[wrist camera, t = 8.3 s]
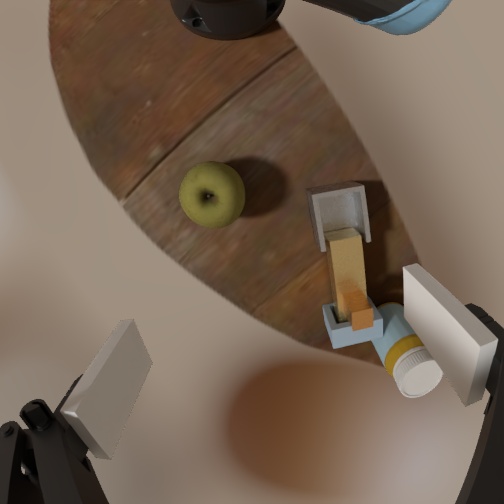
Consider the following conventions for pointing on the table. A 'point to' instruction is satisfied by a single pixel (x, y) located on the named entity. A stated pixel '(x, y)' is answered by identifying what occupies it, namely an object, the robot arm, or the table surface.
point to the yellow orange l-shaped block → (348, 278)
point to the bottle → (405, 354)
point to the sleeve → (338, 210)
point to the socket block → (345, 334)
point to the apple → (212, 194)
